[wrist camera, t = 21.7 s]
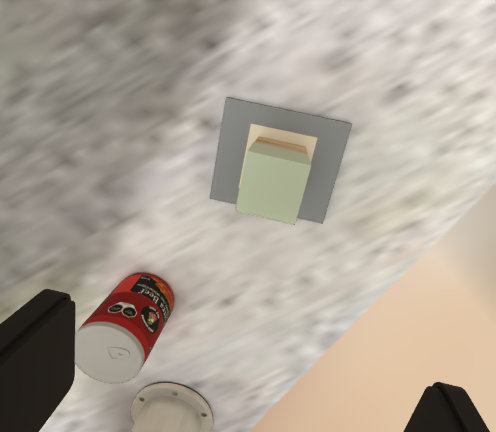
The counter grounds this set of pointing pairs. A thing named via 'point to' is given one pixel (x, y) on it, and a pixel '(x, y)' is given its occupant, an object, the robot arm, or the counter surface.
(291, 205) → the sage block
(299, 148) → the oak block
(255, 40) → the counter surface
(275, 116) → the build board
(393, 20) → the counter surface
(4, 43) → the counter surface
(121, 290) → the canned food
